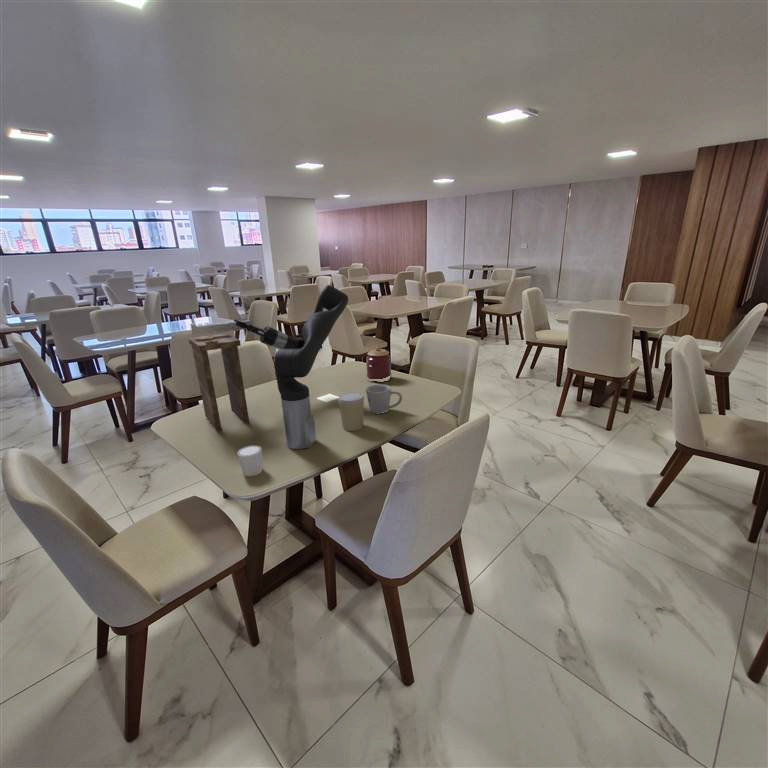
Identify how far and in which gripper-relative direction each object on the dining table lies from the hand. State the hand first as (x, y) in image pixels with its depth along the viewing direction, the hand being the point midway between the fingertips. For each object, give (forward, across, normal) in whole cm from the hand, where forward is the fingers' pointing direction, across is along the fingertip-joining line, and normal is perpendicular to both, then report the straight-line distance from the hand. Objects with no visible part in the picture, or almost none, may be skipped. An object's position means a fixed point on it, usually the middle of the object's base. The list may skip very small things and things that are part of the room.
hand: (235, 322), depth 151 cm
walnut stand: (-10, -5, -38) cm, 39 cm away
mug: (-57, -40, -11) cm, 70 cm away
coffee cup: (-41, -44, -20) cm, 64 cm away
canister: (-77, -2, +1) cm, 78 cm away
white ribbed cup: (-6, -52, -41) cm, 67 cm away
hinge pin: (+3, 0, -5) cm, 6 cm away
